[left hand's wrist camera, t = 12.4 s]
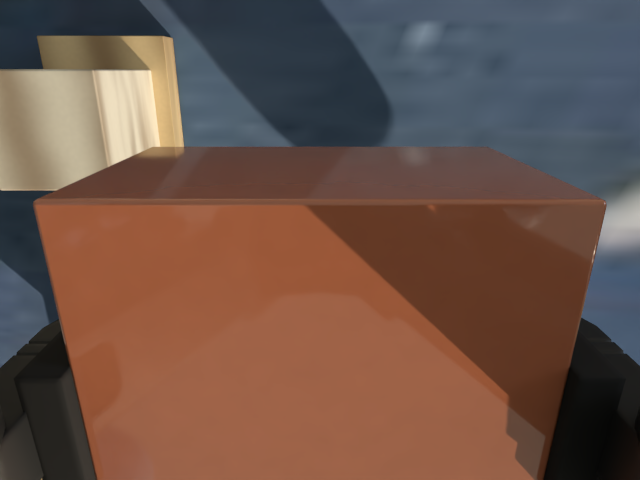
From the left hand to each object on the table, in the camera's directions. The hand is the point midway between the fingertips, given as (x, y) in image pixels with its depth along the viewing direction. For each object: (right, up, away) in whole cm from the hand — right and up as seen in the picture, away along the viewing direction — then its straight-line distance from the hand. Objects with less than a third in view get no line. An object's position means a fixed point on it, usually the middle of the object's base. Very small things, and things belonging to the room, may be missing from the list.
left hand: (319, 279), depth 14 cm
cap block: (0, 0, -1) cm, 1 cm away
